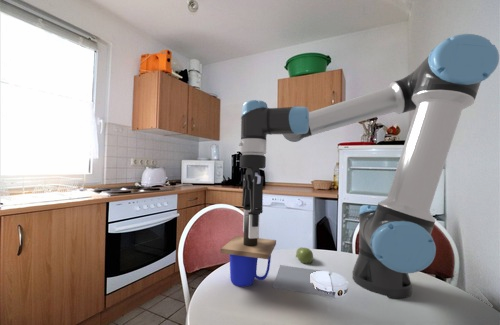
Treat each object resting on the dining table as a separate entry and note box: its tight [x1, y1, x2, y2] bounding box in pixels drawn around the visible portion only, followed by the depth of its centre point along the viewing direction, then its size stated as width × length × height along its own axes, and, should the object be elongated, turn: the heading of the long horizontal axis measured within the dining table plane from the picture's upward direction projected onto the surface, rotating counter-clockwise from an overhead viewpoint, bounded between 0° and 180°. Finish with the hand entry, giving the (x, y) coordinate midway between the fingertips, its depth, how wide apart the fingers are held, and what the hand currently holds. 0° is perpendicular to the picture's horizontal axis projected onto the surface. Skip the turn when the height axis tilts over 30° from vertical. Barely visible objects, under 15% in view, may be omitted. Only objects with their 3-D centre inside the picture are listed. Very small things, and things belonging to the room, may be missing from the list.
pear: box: [295, 247, 314, 265], centre depth 84 cm, size 6×5×10 cm
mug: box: [229, 254, 272, 288], centre depth 66 cm, size 8×12×10 cm
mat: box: [272, 264, 335, 299], centre depth 68 cm, size 16×16×1 cm
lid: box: [220, 215, 277, 260], centre depth 66 cm, size 13×13×9 cm
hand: (250, 234), depth 66 cm, fingers open, 6 cm apart
